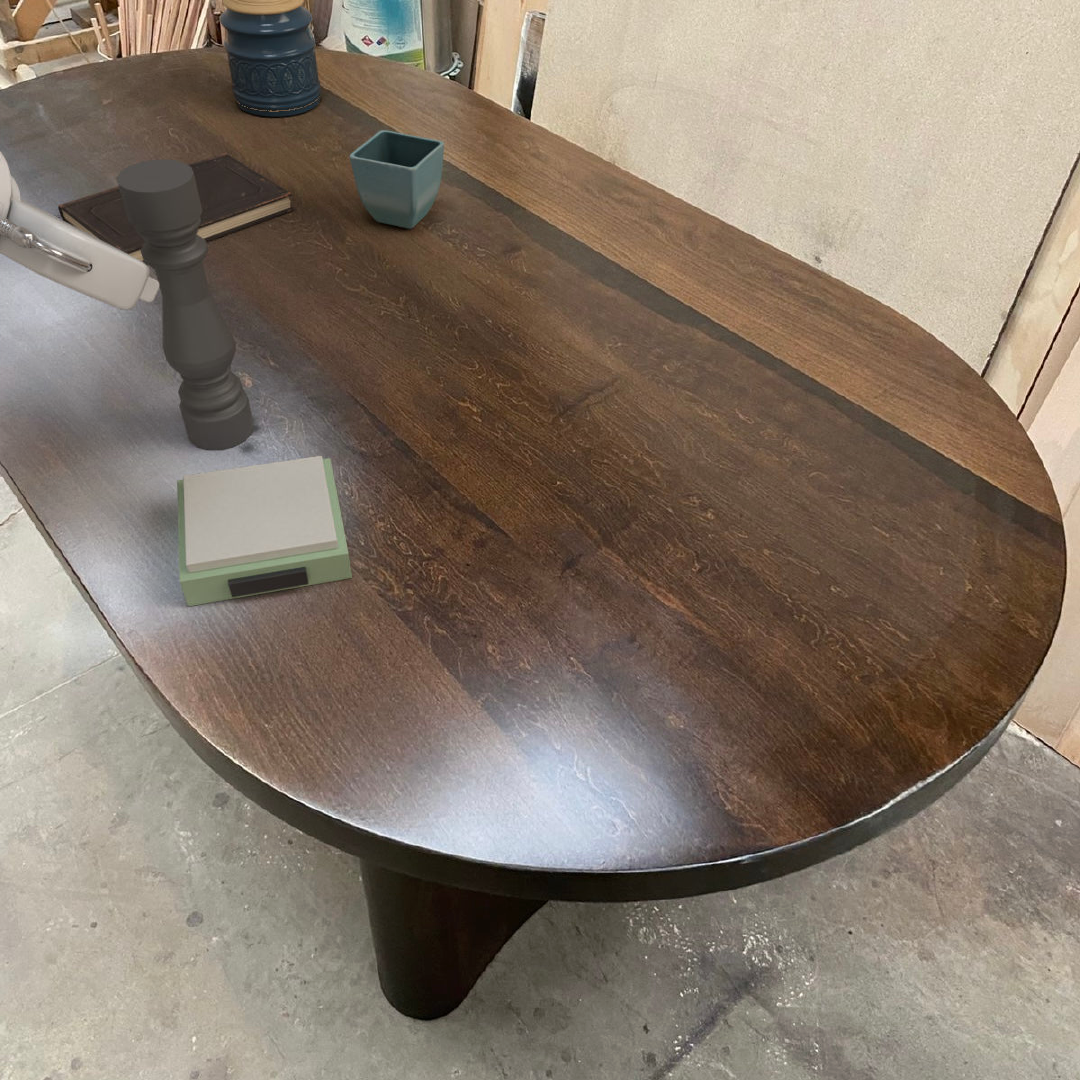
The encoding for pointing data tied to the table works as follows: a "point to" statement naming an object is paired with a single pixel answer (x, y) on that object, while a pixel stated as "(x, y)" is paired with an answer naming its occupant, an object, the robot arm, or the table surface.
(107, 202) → the hardcover book
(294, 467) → the scale
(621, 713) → the table surface
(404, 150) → the flower pot
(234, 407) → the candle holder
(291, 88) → the canister
